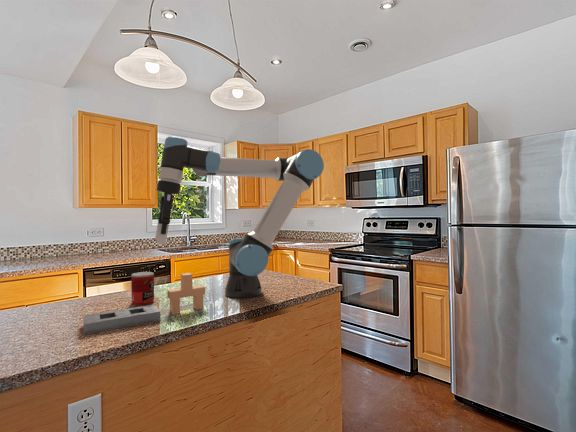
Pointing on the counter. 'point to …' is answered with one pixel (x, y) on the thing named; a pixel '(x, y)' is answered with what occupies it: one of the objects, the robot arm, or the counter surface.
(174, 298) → the clip
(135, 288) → the canned food
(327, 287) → the counter surface
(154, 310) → the grey slotted base
